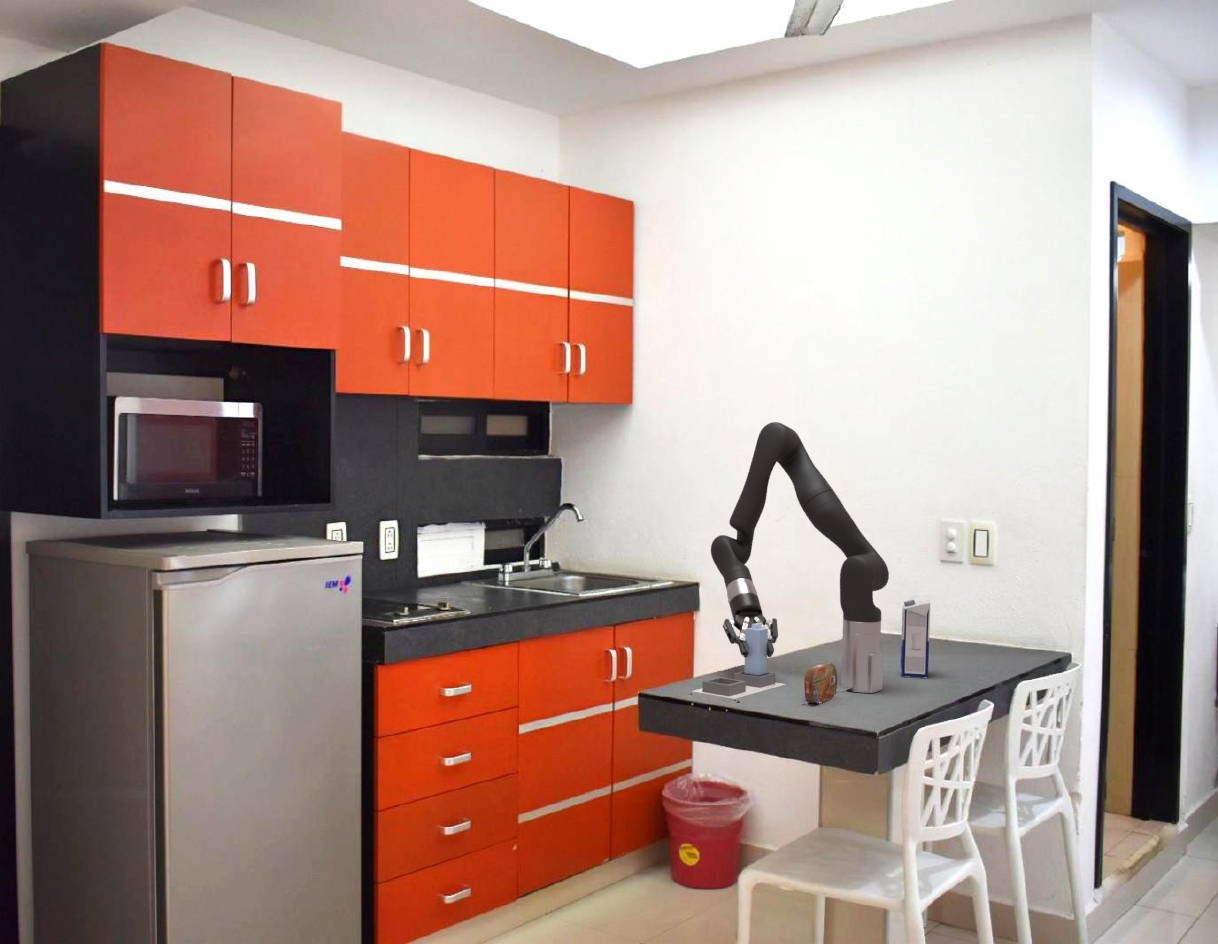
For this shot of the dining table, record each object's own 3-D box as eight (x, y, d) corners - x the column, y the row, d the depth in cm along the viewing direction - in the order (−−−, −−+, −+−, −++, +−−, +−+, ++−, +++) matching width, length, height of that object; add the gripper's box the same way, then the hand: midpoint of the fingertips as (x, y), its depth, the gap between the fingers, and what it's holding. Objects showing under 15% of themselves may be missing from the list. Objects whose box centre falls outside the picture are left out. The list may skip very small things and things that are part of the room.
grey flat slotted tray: (785, 688, 295) (786, 674, 295) (734, 703, 276) (734, 688, 276) (744, 681, 302) (744, 667, 302) (691, 695, 283) (691, 680, 283)
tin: (813, 707, 274) (815, 670, 274) (801, 705, 276) (802, 668, 276) (838, 696, 287) (839, 661, 287) (825, 694, 289) (826, 660, 288)
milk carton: (927, 678, 313) (930, 602, 312) (901, 677, 314) (903, 601, 314) (926, 673, 320) (928, 599, 319) (900, 672, 321) (902, 597, 320)
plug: (766, 673, 295) (767, 623, 294) (758, 675, 291) (759, 625, 291) (752, 671, 297) (753, 622, 297) (744, 673, 294) (745, 623, 294)
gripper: (719, 591, 300) (734, 646, 288) (774, 591, 303) (790, 645, 291) (713, 610, 305) (726, 665, 294) (766, 609, 308) (782, 663, 297)
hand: (758, 655), depth 293 cm, fingers closed on plug, 5 cm apart
